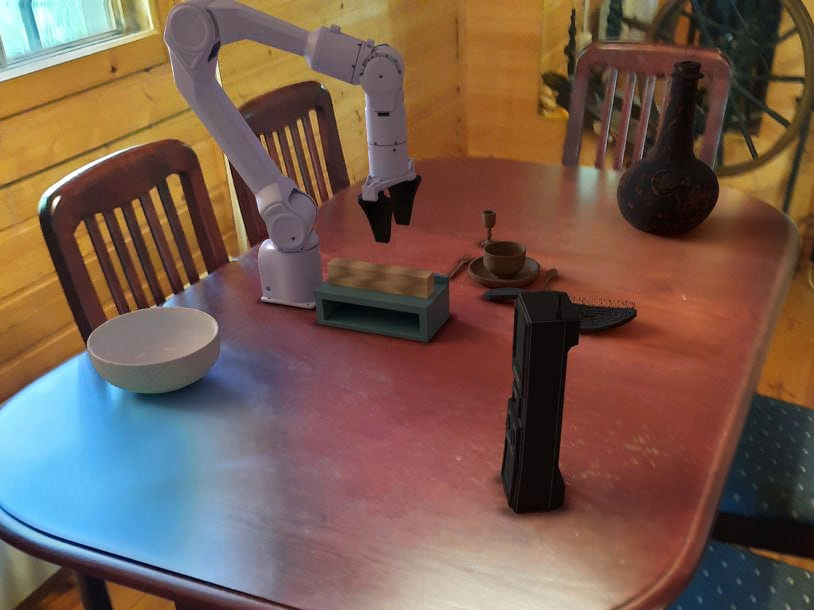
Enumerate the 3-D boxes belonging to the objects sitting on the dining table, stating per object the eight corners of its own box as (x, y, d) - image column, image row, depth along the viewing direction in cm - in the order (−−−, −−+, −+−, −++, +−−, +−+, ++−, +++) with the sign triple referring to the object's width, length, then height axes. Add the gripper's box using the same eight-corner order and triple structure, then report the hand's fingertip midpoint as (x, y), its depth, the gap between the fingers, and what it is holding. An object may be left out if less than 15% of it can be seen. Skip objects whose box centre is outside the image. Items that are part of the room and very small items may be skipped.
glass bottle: (603, 238, 155) (620, 70, 138) (625, 206, 168) (643, 49, 151) (704, 250, 149) (734, 77, 133) (718, 216, 162) (747, 54, 146)
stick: (328, 284, 128) (326, 263, 126) (336, 277, 130) (334, 257, 128) (427, 298, 123) (427, 277, 121) (434, 291, 125) (434, 271, 123)
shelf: (317, 324, 130) (313, 282, 126) (344, 300, 136) (340, 260, 132) (427, 342, 124) (426, 299, 120) (449, 316, 131) (449, 275, 127)
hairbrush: (497, 270, 137) (646, 296, 125) (497, 292, 139) (644, 319, 127) (470, 289, 132) (624, 318, 120) (471, 312, 134) (622, 342, 122)
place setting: (440, 283, 141) (439, 248, 137) (481, 240, 155) (481, 208, 152) (543, 298, 135) (545, 262, 132) (575, 252, 150) (578, 219, 146)
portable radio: (498, 472, 98) (504, 264, 83) (549, 468, 98) (565, 261, 83) (508, 515, 92) (517, 299, 77) (564, 511, 92) (583, 295, 77)
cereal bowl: (112, 425, 108) (98, 376, 104) (89, 368, 120) (76, 322, 116) (242, 390, 114) (234, 343, 110) (208, 340, 126) (199, 296, 122)
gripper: (392, 157, 116) (397, 253, 124) (431, 129, 127) (434, 219, 135) (345, 153, 118) (354, 247, 126) (388, 126, 129) (393, 215, 137)
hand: (392, 233), depth 131 cm, fingers open, 7 cm apart
